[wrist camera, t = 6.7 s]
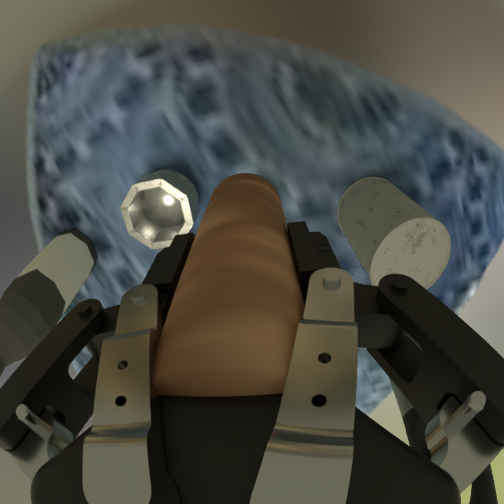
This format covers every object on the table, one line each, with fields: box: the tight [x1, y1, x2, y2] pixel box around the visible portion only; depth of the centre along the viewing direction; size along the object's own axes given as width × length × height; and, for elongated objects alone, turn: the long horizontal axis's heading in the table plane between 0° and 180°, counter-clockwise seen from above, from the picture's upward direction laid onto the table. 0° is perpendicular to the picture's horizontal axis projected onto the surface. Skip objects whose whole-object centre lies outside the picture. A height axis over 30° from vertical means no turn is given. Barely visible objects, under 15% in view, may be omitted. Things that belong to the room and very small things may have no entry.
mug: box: [121, 169, 199, 251], centre depth 31 cm, size 8×13×8 cm, turn 7°
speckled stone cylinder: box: [337, 177, 451, 290], centre depth 29 cm, size 10×10×12 cm
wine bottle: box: [0, 229, 98, 376], centre depth 25 cm, size 8×8×30 cm
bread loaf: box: [153, 173, 305, 396], centre depth 11 cm, size 4×4×12 cm
